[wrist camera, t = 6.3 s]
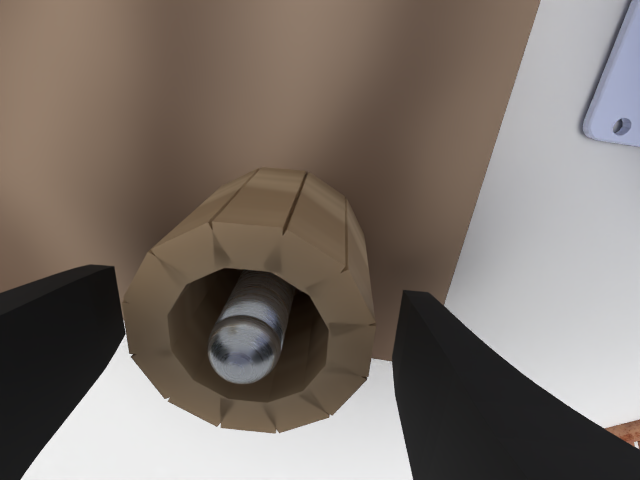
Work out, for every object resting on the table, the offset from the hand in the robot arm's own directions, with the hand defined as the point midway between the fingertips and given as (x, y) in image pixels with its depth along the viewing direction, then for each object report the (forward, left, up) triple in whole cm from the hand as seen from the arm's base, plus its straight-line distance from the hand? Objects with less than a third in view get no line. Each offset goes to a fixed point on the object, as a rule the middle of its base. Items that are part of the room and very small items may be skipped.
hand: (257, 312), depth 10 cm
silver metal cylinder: (0, 0, -4) cm, 4 cm away
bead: (0, 0, -4) cm, 4 cm away
